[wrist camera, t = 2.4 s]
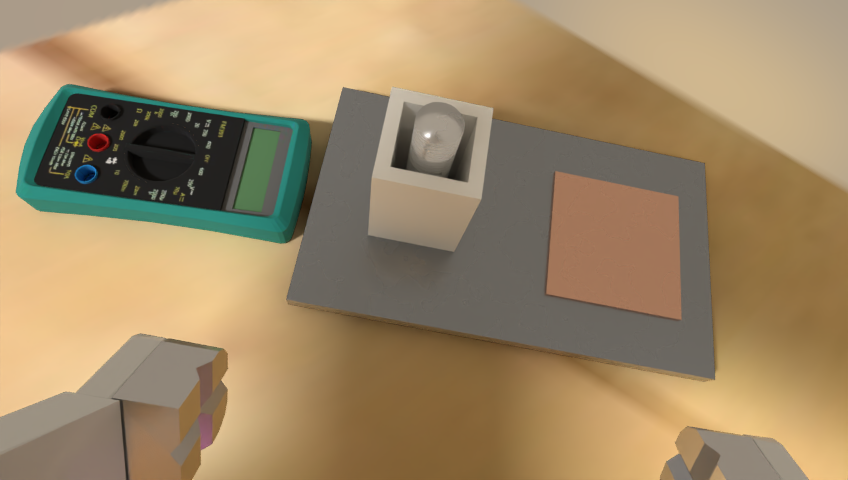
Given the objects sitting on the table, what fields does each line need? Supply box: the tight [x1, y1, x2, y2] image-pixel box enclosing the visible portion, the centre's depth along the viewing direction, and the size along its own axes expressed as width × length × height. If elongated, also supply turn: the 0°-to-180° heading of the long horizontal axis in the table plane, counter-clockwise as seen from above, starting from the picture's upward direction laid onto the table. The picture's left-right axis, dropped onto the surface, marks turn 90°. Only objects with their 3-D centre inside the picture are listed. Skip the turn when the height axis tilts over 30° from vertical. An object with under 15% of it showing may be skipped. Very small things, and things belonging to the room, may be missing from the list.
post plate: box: [286, 87, 715, 381], centre depth 28 cm, size 24×14×10 cm, turn 81°
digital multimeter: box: [16, 84, 312, 243], centre depth 30 cm, size 7×15×3 cm, turn 84°
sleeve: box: [368, 87, 493, 252], centre depth 28 cm, size 5×5×7 cm
